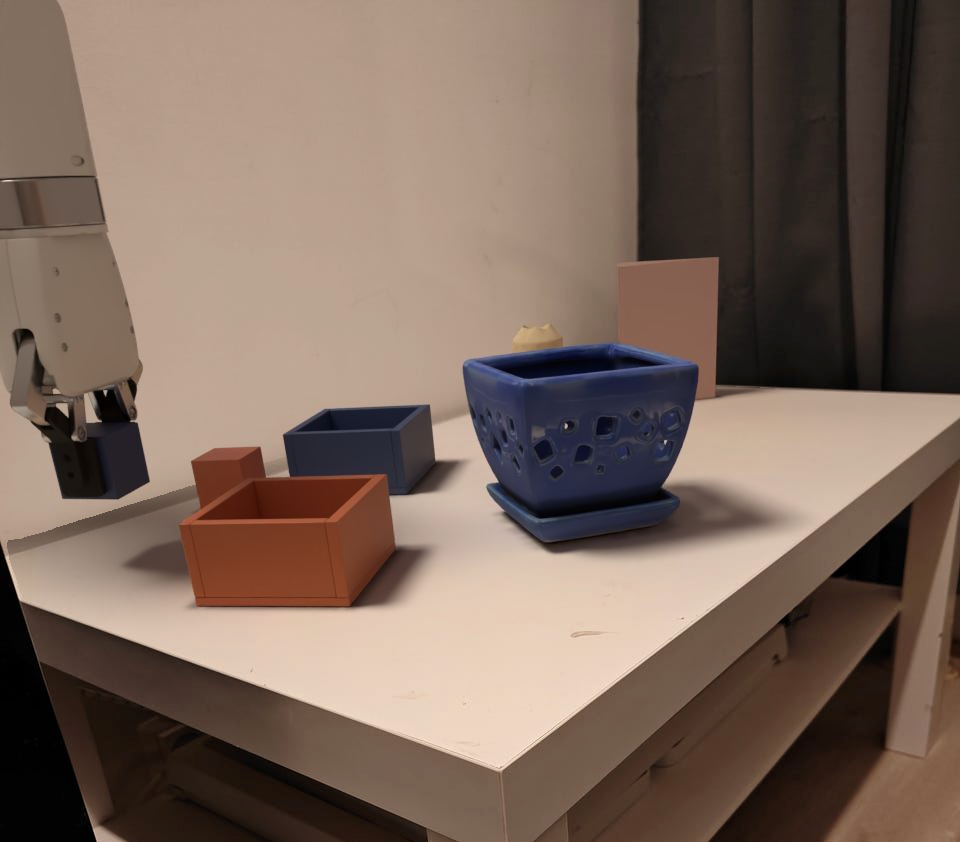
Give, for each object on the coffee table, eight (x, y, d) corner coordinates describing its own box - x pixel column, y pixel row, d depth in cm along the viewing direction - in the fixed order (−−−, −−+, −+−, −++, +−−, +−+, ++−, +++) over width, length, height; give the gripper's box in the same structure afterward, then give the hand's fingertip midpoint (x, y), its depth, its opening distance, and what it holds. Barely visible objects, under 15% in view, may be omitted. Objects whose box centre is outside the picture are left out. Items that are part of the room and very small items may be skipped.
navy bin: (292, 496, 83) (282, 434, 81) (332, 465, 93) (324, 408, 90) (407, 494, 81) (399, 430, 79) (435, 462, 90) (430, 404, 88)
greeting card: (716, 395, 108) (720, 256, 102) (702, 409, 102) (705, 262, 96) (621, 395, 113) (619, 262, 107) (602, 408, 107) (599, 268, 101)
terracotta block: (201, 511, 81) (190, 461, 79) (223, 496, 85) (213, 447, 83) (249, 511, 80) (239, 459, 78) (269, 495, 84) (260, 446, 82)
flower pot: (620, 485, 78) (618, 337, 73) (701, 529, 67) (705, 357, 62) (469, 511, 75) (456, 358, 70) (527, 561, 63) (516, 382, 58)
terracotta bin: (196, 606, 61) (177, 524, 59) (261, 550, 70) (247, 477, 68) (350, 606, 59) (337, 521, 56) (396, 549, 68) (386, 474, 66)
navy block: (62, 499, 67) (46, 437, 65) (96, 481, 71) (83, 422, 69) (118, 499, 66) (104, 436, 64) (150, 482, 70) (138, 422, 68)
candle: (566, 410, 107) (562, 319, 103) (565, 421, 102) (561, 326, 98) (518, 413, 108) (512, 323, 104) (515, 424, 103) (509, 329, 99)
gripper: (67, 211, 69) (121, 455, 77) (-103, 219, 54) (-15, 521, 62) (160, 206, 67) (205, 455, 75) (11, 212, 53) (86, 522, 60)
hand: (105, 482), depth 68 cm, fingers closed on navy block, 4 cm apart
